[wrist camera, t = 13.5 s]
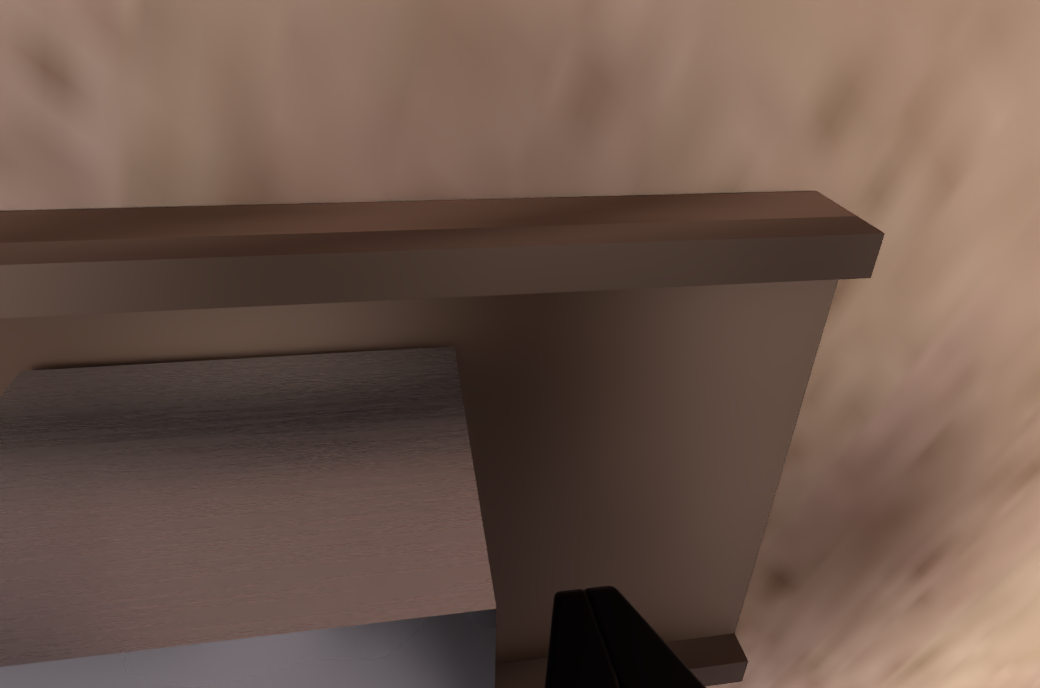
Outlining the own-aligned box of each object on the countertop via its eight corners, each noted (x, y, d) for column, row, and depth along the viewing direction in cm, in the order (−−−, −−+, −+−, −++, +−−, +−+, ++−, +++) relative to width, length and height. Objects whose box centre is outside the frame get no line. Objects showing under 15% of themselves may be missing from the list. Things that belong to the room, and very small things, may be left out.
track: (816, 191, 10) (1039, 330, 7) (708, 610, 14) (807, 819, 11) (-1216, 241, 7) (-2887, 576, 3) (-521, 763, 11) (-911, 1123, 8)
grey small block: (453, 346, 9) (496, 607, 5) (460, 647, 12) (488, 934, 9) (20, 370, 8) (-242, 695, 5) (146, 685, 11) (42, 1019, 8)
